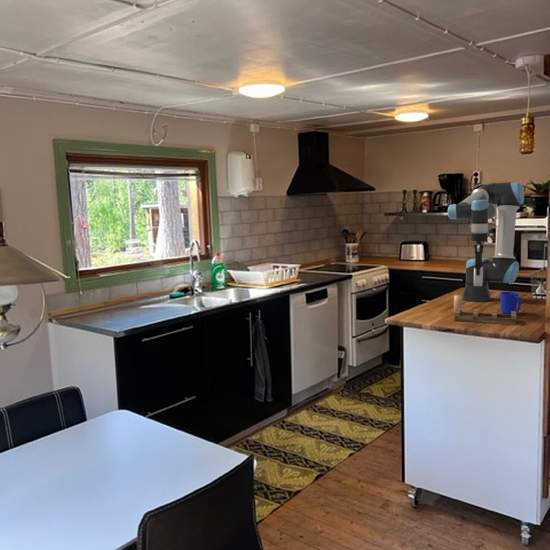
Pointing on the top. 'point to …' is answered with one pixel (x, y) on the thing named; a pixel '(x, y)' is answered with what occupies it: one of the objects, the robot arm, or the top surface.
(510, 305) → the mug
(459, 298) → the plug terracotta
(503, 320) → the comb rack
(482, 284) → the plug grey
